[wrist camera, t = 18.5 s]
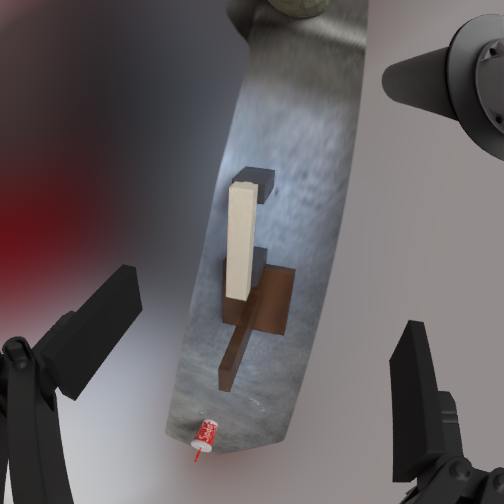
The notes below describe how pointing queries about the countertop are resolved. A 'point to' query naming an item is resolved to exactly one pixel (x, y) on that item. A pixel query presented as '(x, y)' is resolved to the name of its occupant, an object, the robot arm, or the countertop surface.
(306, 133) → the countertop surface
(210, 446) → the beverage cup
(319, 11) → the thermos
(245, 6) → the countertop surface
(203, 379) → the countertop surface
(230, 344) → the headphone stand
